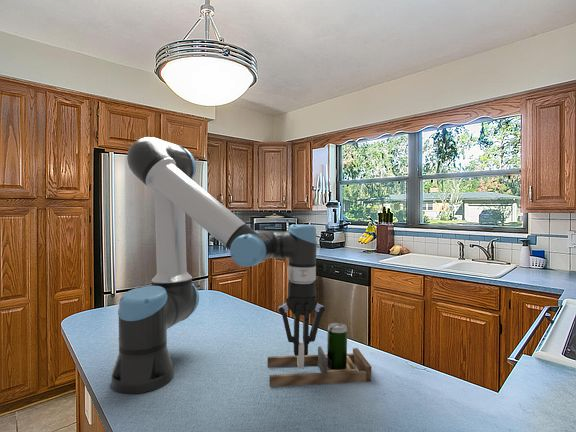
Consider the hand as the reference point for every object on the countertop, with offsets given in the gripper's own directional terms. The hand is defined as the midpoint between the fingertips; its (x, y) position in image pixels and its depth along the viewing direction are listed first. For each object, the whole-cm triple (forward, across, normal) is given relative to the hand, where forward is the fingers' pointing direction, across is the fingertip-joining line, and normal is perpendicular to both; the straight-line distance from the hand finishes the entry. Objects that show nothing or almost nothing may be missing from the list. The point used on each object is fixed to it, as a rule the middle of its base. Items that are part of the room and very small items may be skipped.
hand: (300, 366), depth 94 cm
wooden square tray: (+2, +10, 0) cm, 10 cm away
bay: (+2, +4, 0) cm, 5 cm away
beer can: (+1, +10, 0) cm, 10 cm away
